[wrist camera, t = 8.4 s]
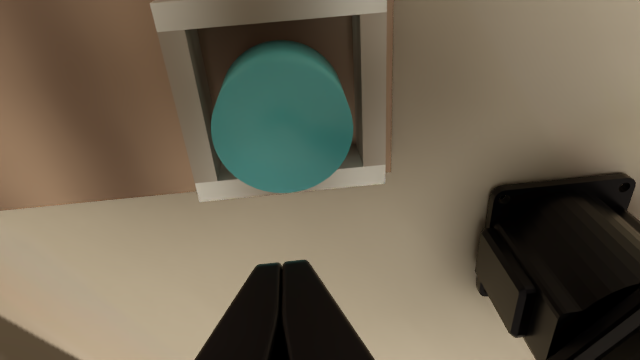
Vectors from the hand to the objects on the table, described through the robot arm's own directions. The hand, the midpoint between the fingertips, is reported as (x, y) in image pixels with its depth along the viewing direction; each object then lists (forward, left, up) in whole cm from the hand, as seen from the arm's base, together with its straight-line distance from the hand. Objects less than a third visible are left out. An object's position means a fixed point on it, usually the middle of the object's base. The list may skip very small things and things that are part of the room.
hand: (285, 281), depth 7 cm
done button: (0, 0, -8) cm, 8 cm away
